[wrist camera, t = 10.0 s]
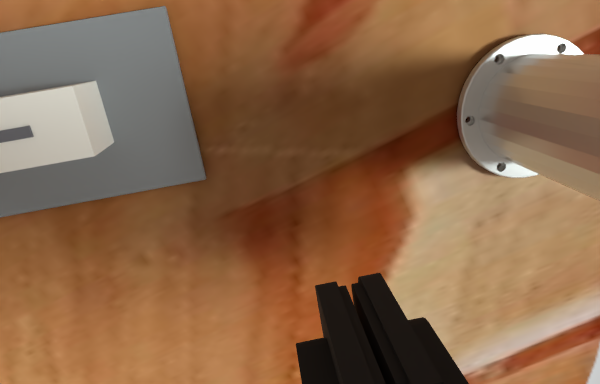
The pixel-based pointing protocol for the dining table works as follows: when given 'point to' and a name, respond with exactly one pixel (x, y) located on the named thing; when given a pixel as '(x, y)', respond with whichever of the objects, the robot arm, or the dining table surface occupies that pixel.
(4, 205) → the mat
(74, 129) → the letter block
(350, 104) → the dining table surface
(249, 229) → the dining table surface
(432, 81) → the dining table surface
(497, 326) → the dining table surface
